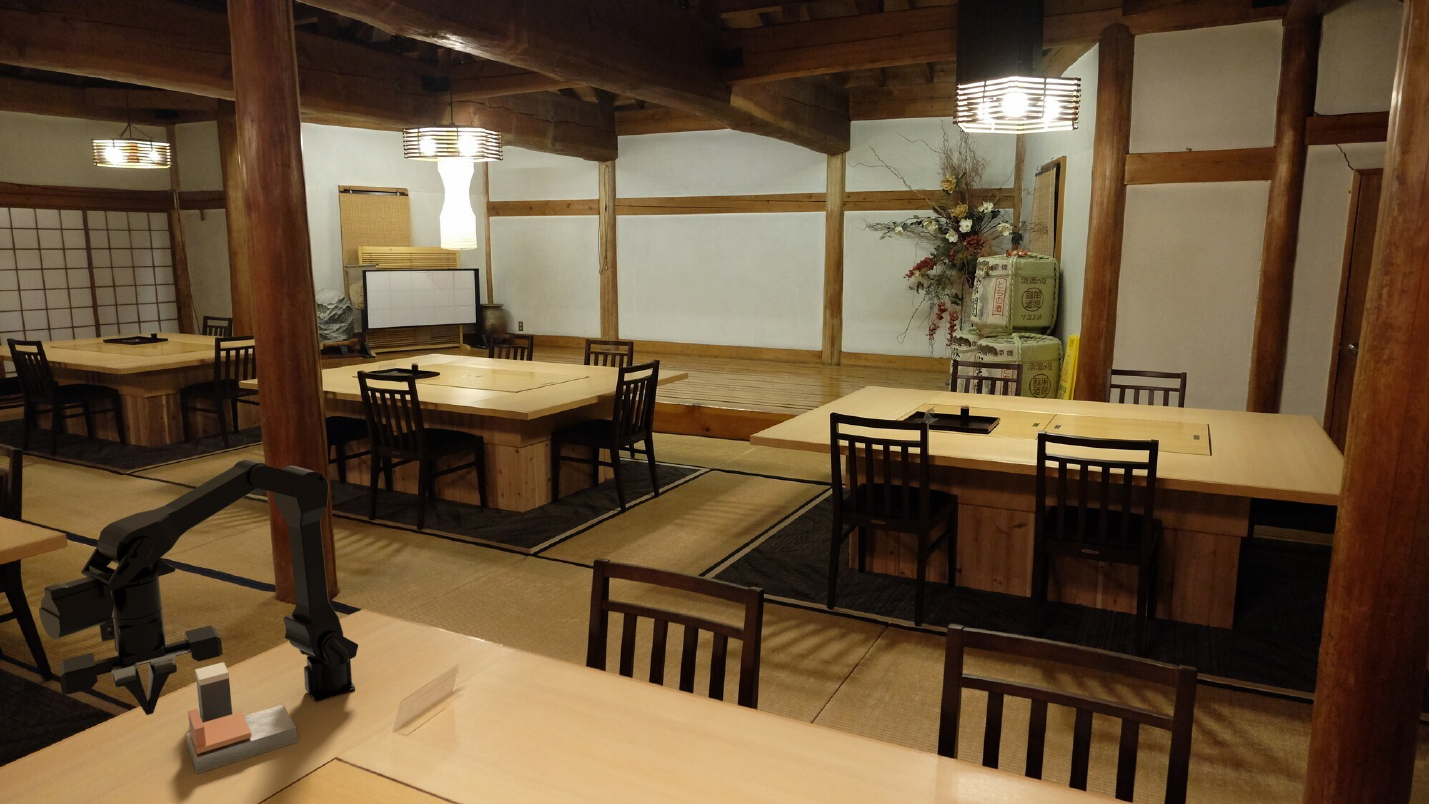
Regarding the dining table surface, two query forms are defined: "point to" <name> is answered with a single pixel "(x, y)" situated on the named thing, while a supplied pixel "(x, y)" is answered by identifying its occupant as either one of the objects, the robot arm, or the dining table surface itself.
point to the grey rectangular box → (249, 740)
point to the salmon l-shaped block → (217, 731)
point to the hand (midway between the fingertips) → (149, 713)
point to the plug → (213, 692)
